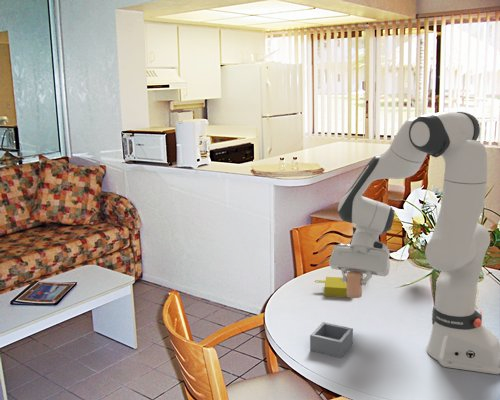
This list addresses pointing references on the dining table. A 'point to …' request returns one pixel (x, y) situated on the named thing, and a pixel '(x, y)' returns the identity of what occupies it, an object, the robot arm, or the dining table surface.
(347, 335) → the gray open box
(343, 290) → the yellow box with tab
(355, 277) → the canister
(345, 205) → the robot arm
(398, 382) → the dining table surface
